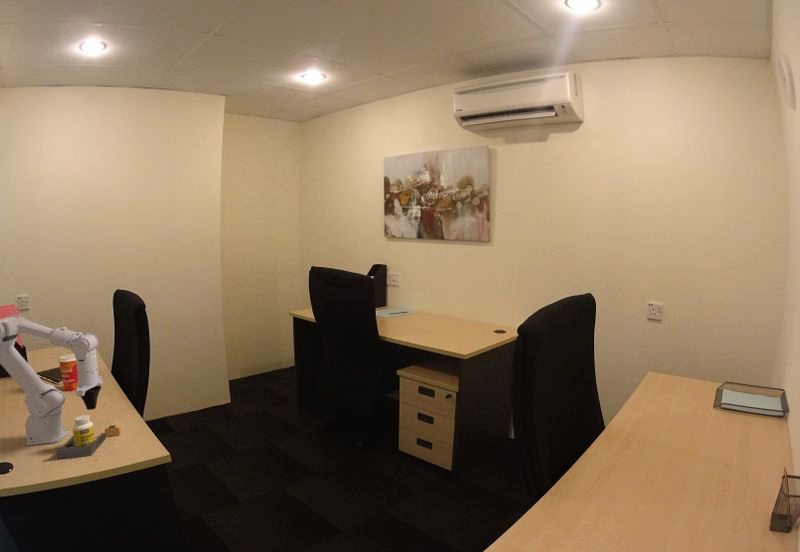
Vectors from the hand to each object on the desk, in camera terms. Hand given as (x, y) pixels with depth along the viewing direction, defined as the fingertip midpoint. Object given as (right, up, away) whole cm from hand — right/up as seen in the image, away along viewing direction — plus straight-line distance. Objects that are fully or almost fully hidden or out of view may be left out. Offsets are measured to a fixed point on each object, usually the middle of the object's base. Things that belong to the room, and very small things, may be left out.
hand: (91, 408), depth 152 cm
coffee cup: (-40, -5, +46) cm, 61 cm away
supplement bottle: (+1, -11, -5) cm, 12 cm away
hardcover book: (-56, -3, +63) cm, 85 cm away
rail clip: (+2, -11, -6) cm, 12 cm away
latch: (+6, -10, +2) cm, 12 cm away
